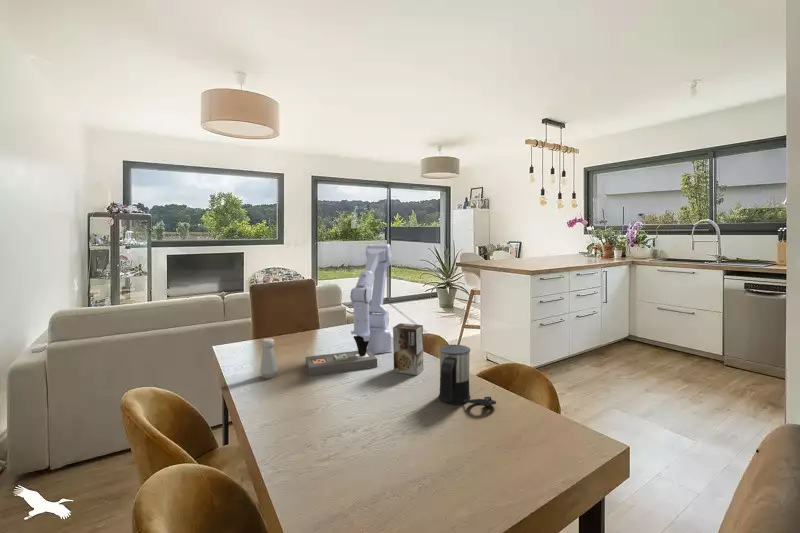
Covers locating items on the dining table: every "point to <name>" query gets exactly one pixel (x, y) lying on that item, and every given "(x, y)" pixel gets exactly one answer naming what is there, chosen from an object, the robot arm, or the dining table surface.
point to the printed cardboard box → (408, 348)
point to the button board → (340, 363)
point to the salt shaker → (268, 359)
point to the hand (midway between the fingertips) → (362, 355)
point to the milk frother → (457, 376)
